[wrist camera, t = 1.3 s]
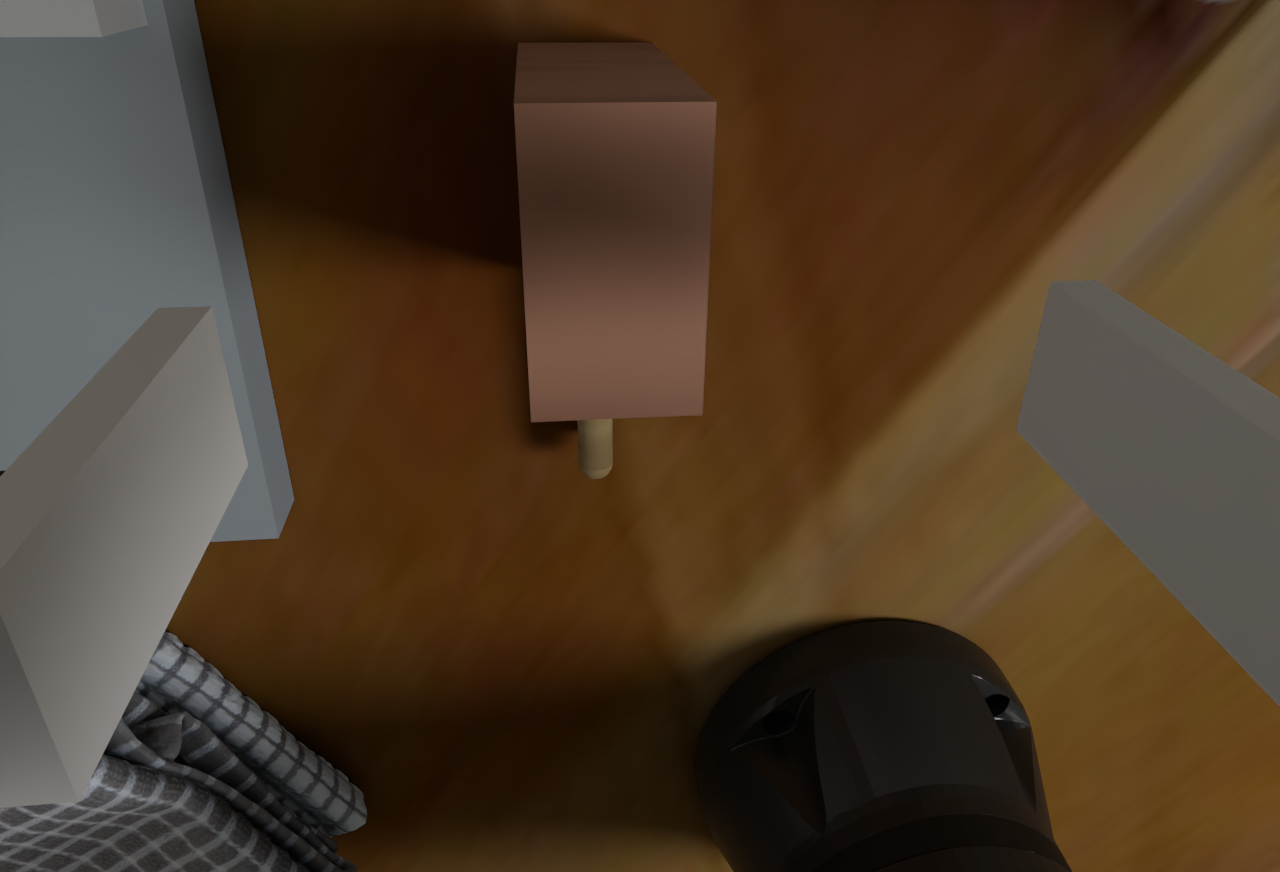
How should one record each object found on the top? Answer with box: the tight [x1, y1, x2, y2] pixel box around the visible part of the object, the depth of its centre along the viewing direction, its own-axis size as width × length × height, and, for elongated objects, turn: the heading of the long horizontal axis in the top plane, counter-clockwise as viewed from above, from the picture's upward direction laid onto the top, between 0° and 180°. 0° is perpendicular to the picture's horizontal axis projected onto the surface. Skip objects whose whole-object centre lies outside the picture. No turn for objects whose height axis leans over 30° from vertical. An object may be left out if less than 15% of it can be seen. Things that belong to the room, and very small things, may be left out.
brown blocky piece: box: [514, 42, 717, 479], centre depth 26 cm, size 14×4×11 cm, turn 179°
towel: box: [0, 631, 367, 872], centre depth 37 cm, size 15×18×8 cm
